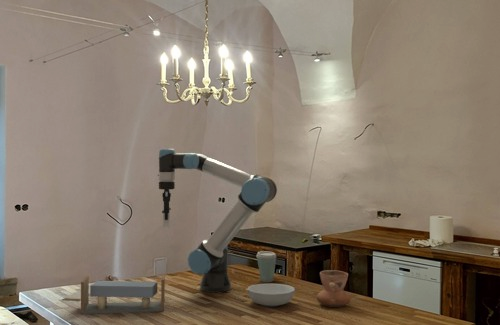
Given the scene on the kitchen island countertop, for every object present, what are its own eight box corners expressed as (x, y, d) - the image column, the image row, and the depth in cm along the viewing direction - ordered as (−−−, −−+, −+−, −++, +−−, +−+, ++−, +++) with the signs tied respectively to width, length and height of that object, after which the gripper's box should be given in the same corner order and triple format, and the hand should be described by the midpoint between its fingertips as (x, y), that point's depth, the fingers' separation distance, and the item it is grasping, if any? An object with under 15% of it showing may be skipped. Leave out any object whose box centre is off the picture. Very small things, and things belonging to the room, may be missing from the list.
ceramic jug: (348, 311, 215) (349, 277, 215) (314, 308, 219) (314, 274, 219) (351, 301, 232) (352, 269, 233) (319, 298, 236) (320, 267, 236)
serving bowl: (299, 300, 233) (299, 285, 233) (287, 312, 213) (287, 296, 213) (256, 296, 240) (256, 281, 240) (240, 307, 220) (240, 291, 220)
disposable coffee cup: (280, 280, 272) (280, 252, 272) (267, 284, 264) (268, 254, 264) (265, 277, 279) (265, 250, 279) (252, 281, 270) (252, 252, 271)
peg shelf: (85, 306, 221) (85, 275, 221) (164, 303, 226) (164, 273, 226) (80, 314, 209) (80, 282, 209) (164, 311, 214) (164, 279, 214)
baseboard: (59, 301, 231) (80, 302, 230) (59, 294, 231) (80, 295, 230) (89, 285, 261) (108, 286, 259) (89, 279, 261) (108, 280, 259)
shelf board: (97, 291, 223) (97, 280, 223) (157, 292, 221) (157, 281, 221) (90, 296, 214) (90, 285, 214) (152, 297, 212) (152, 286, 212)
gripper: (159, 180, 260) (159, 222, 259) (158, 181, 235) (157, 228, 235) (174, 180, 261) (174, 222, 261) (174, 181, 236) (174, 228, 236)
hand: (166, 225), depth 248 cm, fingers open, 13 cm apart
